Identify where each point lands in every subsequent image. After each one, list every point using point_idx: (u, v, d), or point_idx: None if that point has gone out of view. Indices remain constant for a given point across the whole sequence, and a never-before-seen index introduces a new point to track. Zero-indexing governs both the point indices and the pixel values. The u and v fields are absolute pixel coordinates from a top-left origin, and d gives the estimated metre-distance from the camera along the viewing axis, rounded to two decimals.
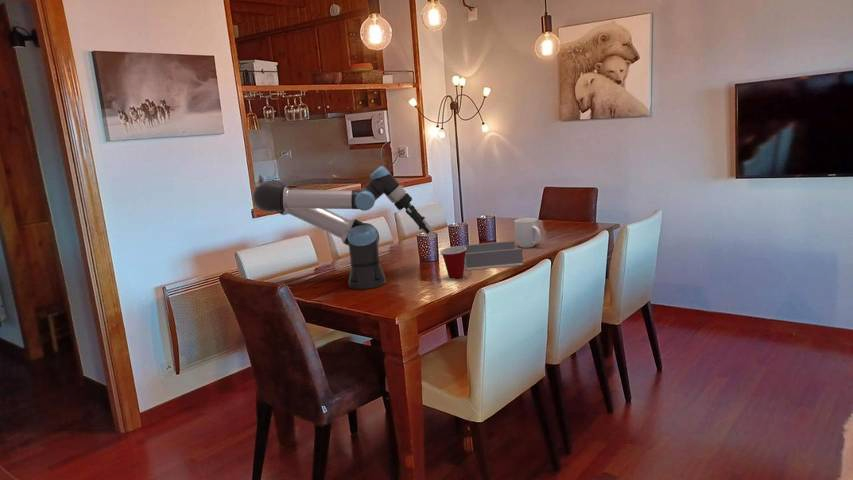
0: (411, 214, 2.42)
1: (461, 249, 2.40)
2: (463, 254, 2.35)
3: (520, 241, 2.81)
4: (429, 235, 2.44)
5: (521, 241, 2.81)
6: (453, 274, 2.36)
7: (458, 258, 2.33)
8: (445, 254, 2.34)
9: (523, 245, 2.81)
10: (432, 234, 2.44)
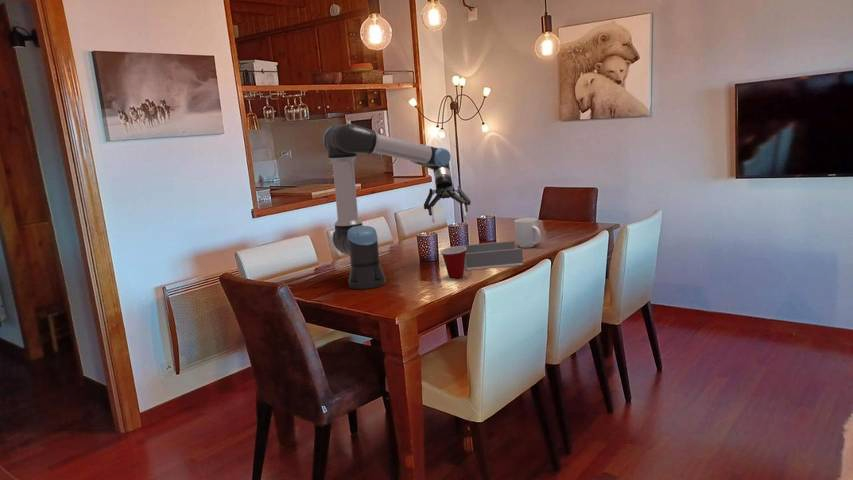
0: None
1: (461, 249, 2.40)
2: (463, 254, 2.35)
3: (520, 241, 2.81)
4: (465, 212, 2.50)
5: (521, 241, 2.81)
6: (453, 274, 2.36)
7: (458, 258, 2.33)
8: (445, 254, 2.34)
9: (523, 245, 2.81)
10: None
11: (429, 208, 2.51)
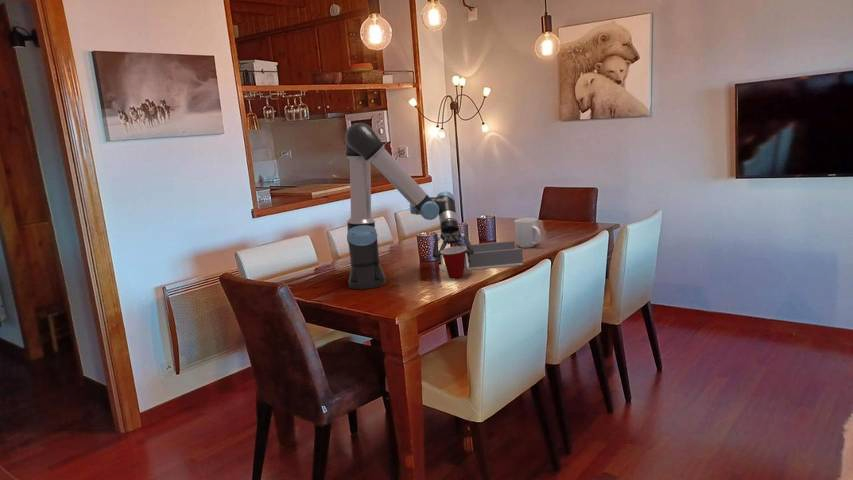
0: None
1: (461, 249, 2.40)
2: (463, 254, 2.35)
3: (520, 241, 2.81)
4: None
5: (521, 241, 2.81)
6: (453, 274, 2.36)
7: (458, 258, 2.33)
8: (445, 254, 2.34)
9: (523, 245, 2.81)
10: None
11: (438, 257, 2.38)
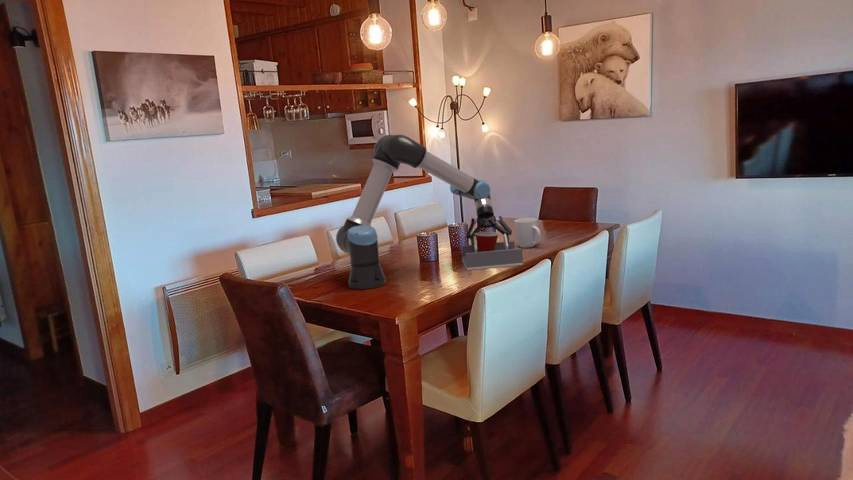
0: None
1: (493, 234, 2.61)
2: (495, 238, 2.55)
3: (520, 241, 2.81)
4: (507, 242, 2.56)
5: (521, 241, 2.81)
6: None
7: (491, 241, 2.54)
8: (479, 235, 2.54)
9: (523, 245, 2.81)
10: None
11: (471, 238, 2.58)
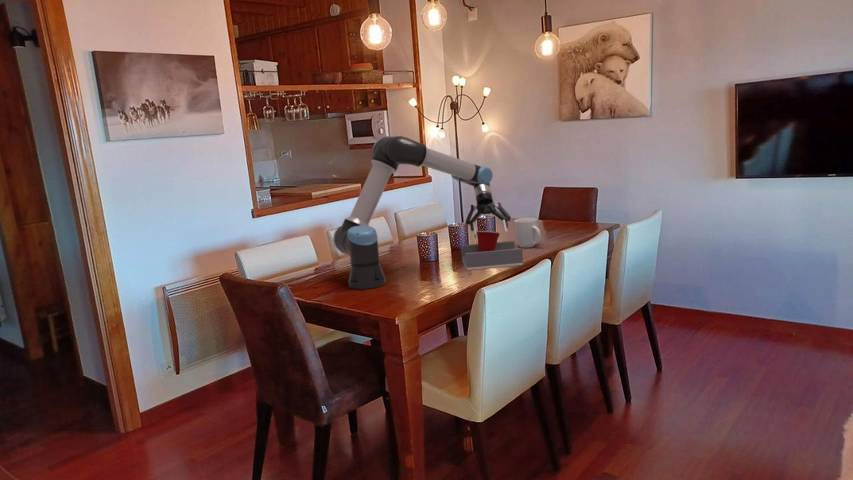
0: None
1: None
2: (497, 236, 2.57)
3: (520, 241, 2.81)
4: (506, 228, 2.61)
5: (521, 241, 2.81)
6: None
7: (492, 238, 2.56)
8: (481, 232, 2.56)
9: (523, 245, 2.81)
10: None
11: (471, 223, 2.63)
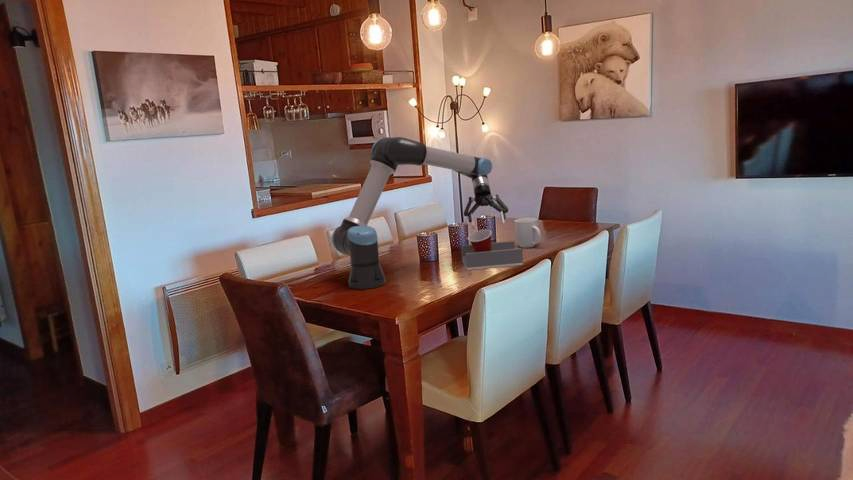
0: None
1: (486, 232, 2.58)
2: (489, 239, 2.53)
3: (520, 241, 2.81)
4: (503, 219, 2.63)
5: (521, 241, 2.81)
6: None
7: (485, 243, 2.52)
8: (473, 241, 2.52)
9: (523, 245, 2.81)
10: None
11: (469, 215, 2.65)
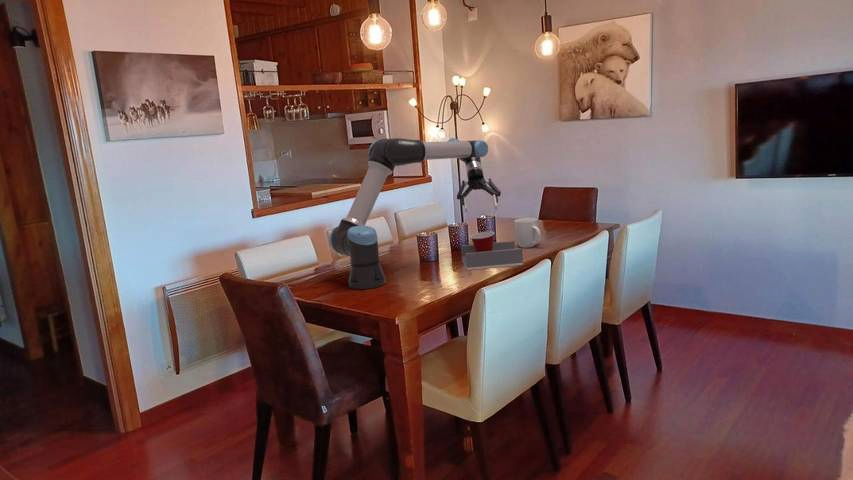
0: None
1: (489, 234, 2.60)
2: (491, 238, 2.55)
3: (520, 241, 2.81)
4: (496, 202, 2.67)
5: (521, 241, 2.81)
6: None
7: (487, 242, 2.53)
8: (475, 239, 2.54)
9: (523, 245, 2.81)
10: None
11: (462, 198, 2.68)
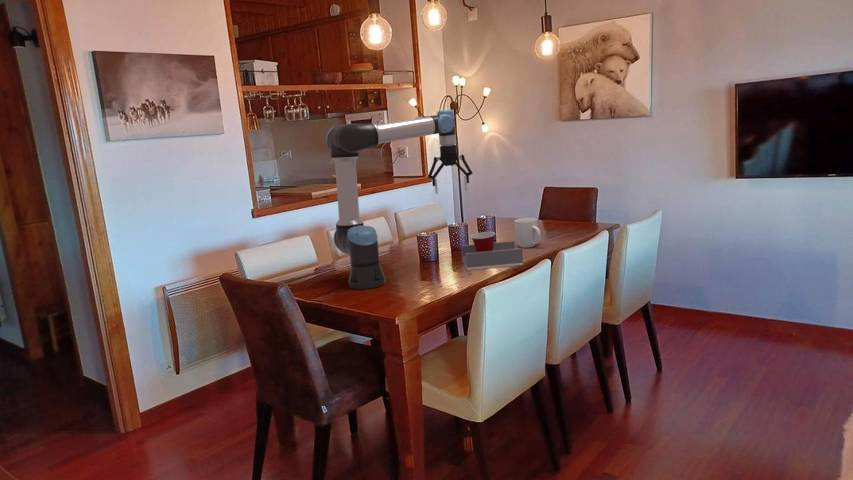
0: None
1: (489, 234, 2.60)
2: (492, 239, 2.55)
3: (520, 241, 2.81)
4: (466, 185, 2.68)
5: (521, 241, 2.81)
6: None
7: (488, 242, 2.53)
8: (476, 239, 2.54)
9: (523, 245, 2.81)
10: None
11: (433, 180, 2.67)
